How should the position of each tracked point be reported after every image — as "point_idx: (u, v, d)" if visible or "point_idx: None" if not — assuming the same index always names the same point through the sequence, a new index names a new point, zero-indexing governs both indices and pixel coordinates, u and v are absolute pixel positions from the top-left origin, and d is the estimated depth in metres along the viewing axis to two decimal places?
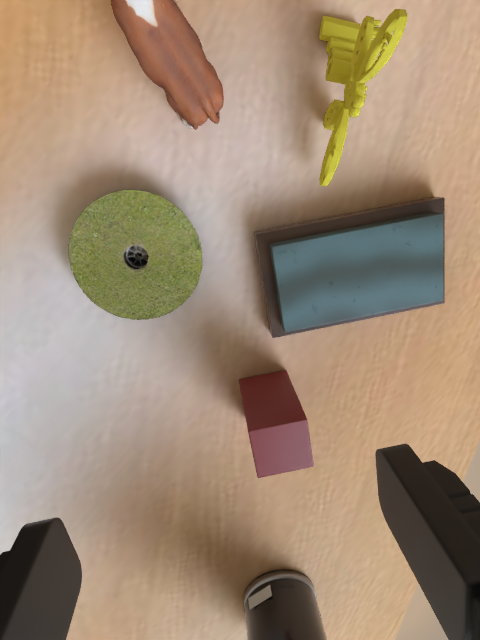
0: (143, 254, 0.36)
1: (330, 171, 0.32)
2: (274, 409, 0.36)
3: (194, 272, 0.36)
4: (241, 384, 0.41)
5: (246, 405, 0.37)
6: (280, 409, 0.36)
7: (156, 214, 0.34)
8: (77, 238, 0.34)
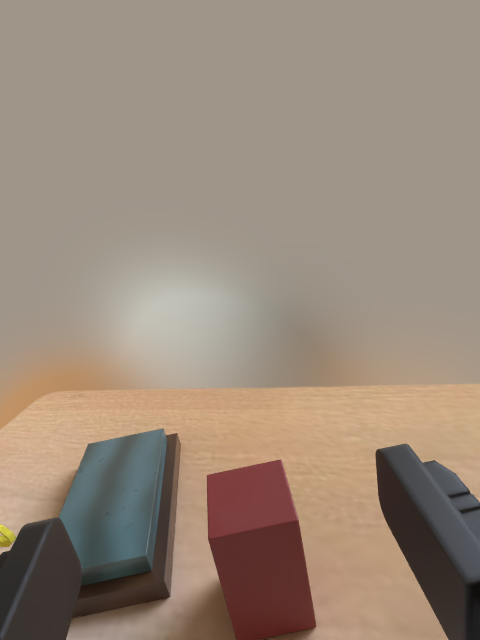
0: None
1: None
2: None
3: None
4: (234, 629, 0.25)
5: (221, 583, 0.24)
6: None
7: None
8: None
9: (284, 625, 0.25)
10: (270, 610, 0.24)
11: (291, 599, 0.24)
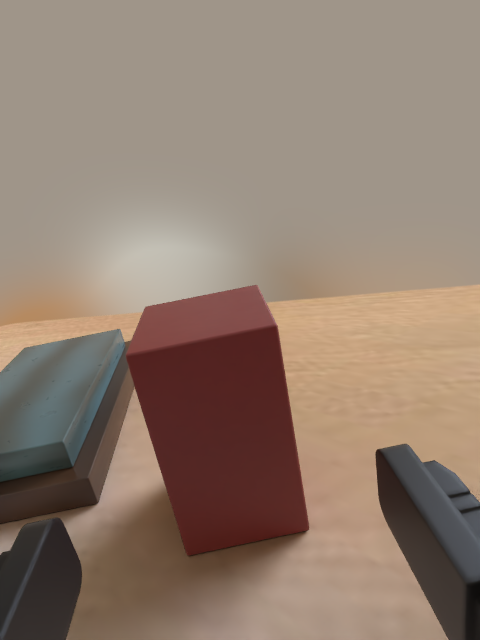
0: None
1: None
2: None
3: None
4: (180, 531, 0.16)
5: (154, 446, 0.15)
6: None
7: None
8: None
9: (259, 525, 0.16)
10: (236, 496, 0.15)
11: (269, 478, 0.15)
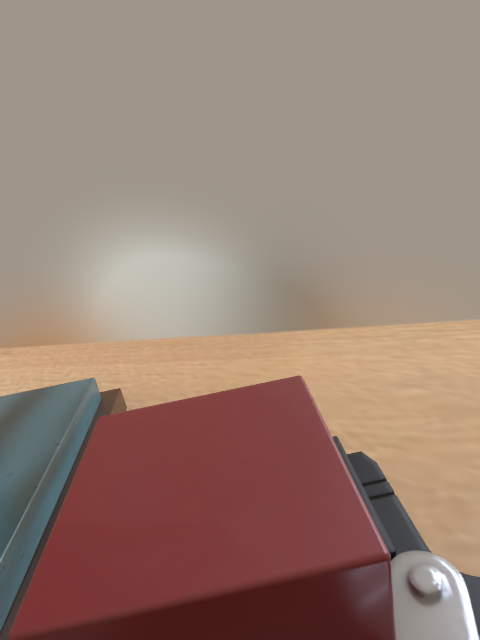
0: None
1: None
2: None
3: None
4: None
5: None
6: None
7: None
8: None
9: None
10: None
11: None
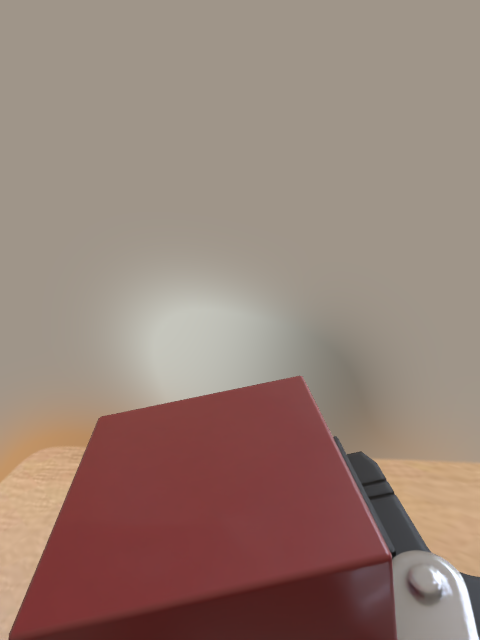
0: None
1: None
2: None
3: None
4: None
5: None
6: None
7: None
8: None
9: None
10: None
11: None
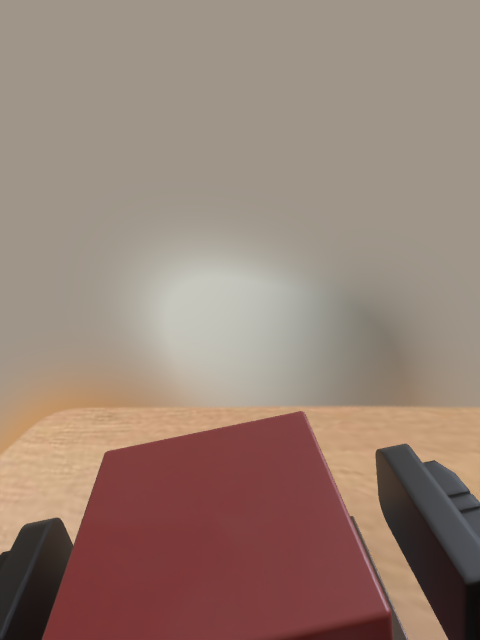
0: None
1: None
2: None
3: None
4: None
5: None
6: None
7: None
8: None
9: None
10: None
11: None
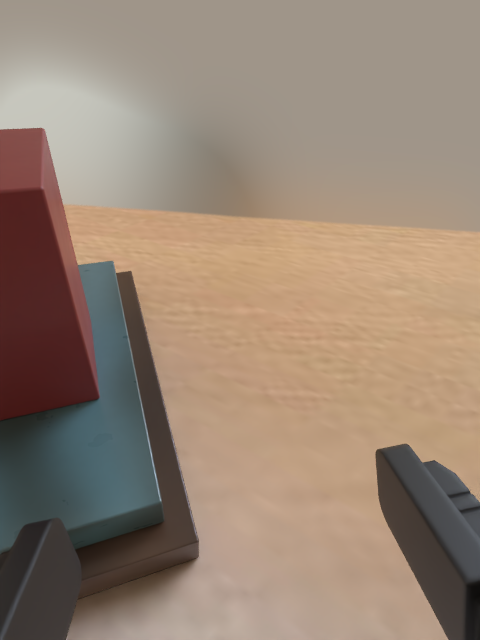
0: None
1: None
2: None
3: None
4: None
5: None
6: None
7: None
8: None
9: (44, 397, 0.16)
10: (12, 372, 0.14)
11: (51, 355, 0.14)
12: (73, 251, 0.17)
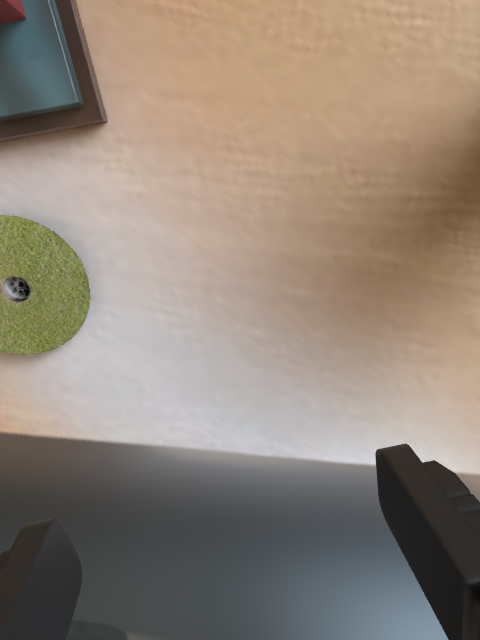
0: (19, 280, 0.33)
1: None
2: None
3: (22, 225, 0.30)
4: None
5: None
6: None
7: None
8: (4, 344, 0.33)
9: None
10: None
11: None
12: None
